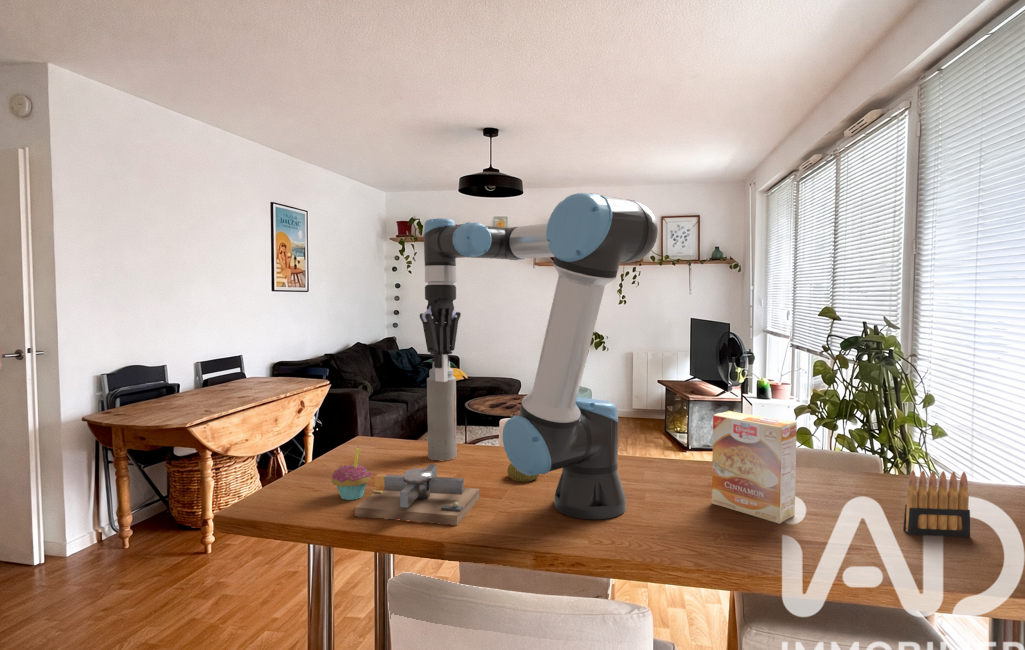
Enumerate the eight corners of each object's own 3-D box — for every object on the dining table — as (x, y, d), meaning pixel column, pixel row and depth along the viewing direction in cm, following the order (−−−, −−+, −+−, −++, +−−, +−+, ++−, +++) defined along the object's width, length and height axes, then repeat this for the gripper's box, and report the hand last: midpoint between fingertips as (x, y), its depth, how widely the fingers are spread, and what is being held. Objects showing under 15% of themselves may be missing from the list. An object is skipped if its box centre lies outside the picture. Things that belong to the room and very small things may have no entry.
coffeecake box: (710, 503, 125) (711, 414, 124) (727, 496, 129) (729, 410, 128) (779, 524, 113) (781, 426, 112) (796, 515, 118) (797, 421, 117)
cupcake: (377, 492, 133) (377, 440, 133) (358, 505, 125) (357, 450, 124) (345, 488, 135) (344, 438, 135) (323, 501, 127) (322, 447, 127)
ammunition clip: (908, 534, 108) (910, 471, 108) (903, 530, 110) (904, 468, 109) (970, 537, 107) (972, 473, 106) (964, 533, 109) (966, 470, 108)
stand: (479, 497, 129) (479, 481, 129) (457, 525, 114) (456, 507, 113) (386, 490, 134) (386, 475, 134) (352, 516, 118) (352, 499, 118)
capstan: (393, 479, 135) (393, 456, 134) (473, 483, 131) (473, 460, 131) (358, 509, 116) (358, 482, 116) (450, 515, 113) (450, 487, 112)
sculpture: (517, 456, 148) (545, 461, 144) (517, 472, 148) (545, 477, 144) (501, 464, 141) (529, 469, 137) (501, 480, 141) (529, 486, 137)
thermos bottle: (458, 453, 165) (457, 356, 164) (454, 461, 157) (453, 359, 156) (430, 453, 166) (429, 356, 164) (425, 461, 158) (424, 359, 156)
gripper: (445, 284, 147) (446, 376, 148) (410, 283, 136) (411, 383, 137) (469, 284, 143) (470, 378, 144) (434, 283, 132) (435, 385, 133)
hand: (441, 381), depth 141 cm, fingers closed
